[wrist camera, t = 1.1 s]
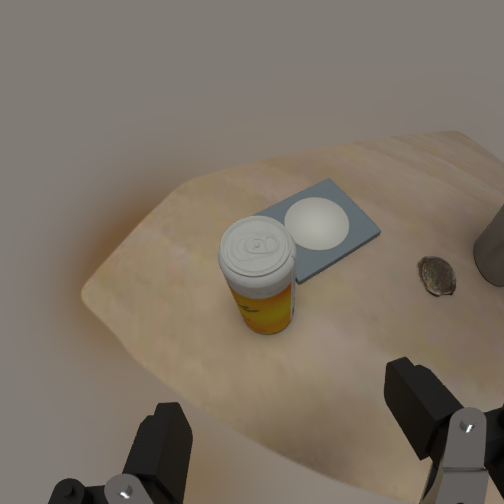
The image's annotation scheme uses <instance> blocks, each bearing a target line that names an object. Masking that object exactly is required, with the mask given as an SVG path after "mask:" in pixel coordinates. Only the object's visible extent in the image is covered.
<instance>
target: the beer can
mask: <svg viewBox="0 0 504 504" xmlns="http://www.w3.org/2000/svg"><path fill="white" fill-rule="evenodd" d="M218 260H219V265H220V267H221V270H222V272H223V274H224V276H225V279H226V281H227V283H228V285H229V288H230V290H231V292H232V294H233V297H234V299H235V301H236V303H237V305H238V308H239V310H240V312H241V314H242V316H243V318H244V321H245V322H246V324H247V325H248V326H249V327H250V328H251V329H252V330H254V331H256V332H258V333H262V334H273V333H276V332H279V331H281V330H282V329H284V328H285V327H286V326H287V325H288V324H289V323H290V321H291V319H292V317H293V313H294V297H295V277H296V245H295V242H294V239H293V237H292V236H291V234H290V233H289V232H288V231H287V229H286V228H285V227H284V226H283V225H282V224H281V223H280V222H279V221H277V220H275V219H273V218H270V217H266V216H250V217H246V218H243V219H240V220H238V221H237V222H235V223H234V224H232V225H231V226H230V227H229V228H228V229H227V230H226V232H225V233H224V235H223V237H222V240H221V244H220V247H219V251H218Z"/></svg>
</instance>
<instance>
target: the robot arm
mask: <svg viewBox="0 0 504 504" xmlns="http://www.w3.org/2000/svg"><path fill="white" fill-rule="evenodd" d="M474 257H475V261H476V264H477V266H478V268H479V270H480V272H481V273H482V275H483V276H484V277H485V278H486V279H487V280H488V281H489V282H490V283H492V284H494V285H496V286H504V204H503V206H502V207H501V209H500V210H499V212H498V213H497V214H496V216H495V217H494V218H493V220H492V221H491V223H490V224H489V225H488V226H487V228H486V229H485V230H484V232H483V233H482V234H481V235H480V237H479V238H478V239H477V240H476V242H475V245H474ZM384 398H385V401H386V404H387V406H388V407H389V409H390V411H391V412H392V414H393V416H394V417H395V419H396V421H397V422H398V424H399V426H400V427H401V429H402V431H403V432H404V434H405V436H406V437H407V439H408V441H409V442H410V444H411V446H412V448H413V449H414V451H415V453H416V454H417V456H418V458H419V460H420V461H421V460H423V459H425V458H427V457H429V456H430V458H431V459H432V463H431V466H430V470H429V474H428V477H427V480H426V484H425V487H424V490H423V493H422V496H421V499H420V502H419V504H484V501H485V496H486V490H487V484H488V476H489V475H490V477H491V478H492V480H493V482H494V484H495V485H496V487H497V489H498V491H499V492H500V494H501V496H502V498H503V499H504V404H503V406H502V407H501V408H498V409H495V410H492V411H488V412H485V413H483V412H481V411H480V410H478V409H476V408H470V407H469V408H464V407H463V406H462V405H461V404H460V402H459V401H458V400H457V399H456V398H455V397H454V396H453V395H452V393H451V392H450V391H449V390H448V389H447V388H446V387H445V386H444V385H443V384H442V382H441V381H440V380H439V379H437V377H436V376H435V375H434V374H433V372H432V371H431V370H430V369H428V368H426V367H424V366H422V365H420V364H419V365H416V366H414V365H413V364H412V363H411V361H410V360H409V359H408V358H407V357H402V358H399V359H397V360H394V361H391V362H388V363H387V365H386V374H385V384H384ZM192 441H193V435H192V430H191V427H190V425H189V423H188V421H187V419H186V417H185V415H184V413H183V411H182V408H181V406H180V404H179V403H178V402H171V403H158V405H157V407H156V410H155V413H154V415H153V416H152V415H150V416H147V417H146V418H145V419H144V421H143V422H142V423H141V424H140V426H139V429H138V431H137V436H136V437H135V440H134V444H133V445H132V447H131V450H130V453H129V456H128V459H127V461H126V464H125V467H124V469H123V472H122V474H119V475H116V476H114V477H112V478H111V479H110V480H109V481H108V482H107V483H106V485H103V486H92V487H85V486H84V485H83V484H82V483H81V482H79V481H78V480H76V479H72V478H70V479H69V478H68V479H64V480H62V481H60V482H59V483H58V484H57V485H56V486H55V488H54V490H53V492H52V495H51V497H50V500H49V502H48V504H183V499H184V492H185V485H186V478H187V473H188V466H189V460H190V454H191V448H192ZM484 467H485V468H486V469H484Z"/></svg>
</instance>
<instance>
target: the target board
mask: <svg viewBox="0 0 504 504" xmlns="http://www.w3.org/2000/svg"><path fill="white" fill-rule="evenodd" d="M253 216H266V217H270V218H273V219H275V220H277V221H279V222H280V223H281V224H282V225H283V226H284V227H285V228H286V229H287V231H288V232H289V233H290V234H291V236H292V237H293V239H294V242H295V245H296V277H295V280H296V282H297V283H298V284H301V283H303V282H305V281H306V280H308V279H310V278H311V277H313V276H315V275H316V274H318V273H320V272H321V271H323V270H324V269H326V268H328V267H329V266H331V265H333V264H334V263H336V262H337V261H339V260H341V259H342V258H344V257H345V256H347V255H349V254H350V253H352V252H353V251H355V250H357V249H358V248H360V247H361V246H363V245H364V244H366V243H368V242H369V241H371V240H372V239H374V238H375V237H377V236H378V235H380V232H381V230H380V229H379V228H378V227H377V226H376V224H375V223H374V222H373V221H372V220H371V219H370V218H369V217H368V216H367V215H366V214H365V213H364V212H363V211H362V210H361V209H360V208H359V207H358V206H357V205H356V204H355V203H354V202H353V201H352V200H351V199H350V198H349V197H348V196H347V195H346V194H345V193H344V192H343V191H342V190H341V189H340V188H339V187H338V186H337V185H336V184H335V183H334V182H333V181H332V180H331V179H330V178H328V179H326V180H324V181H322V182H320V183H318V184H316V185H314V186H311V187H309V188H307V189H305V190H303V191H301V192H299V193H297V194H295V195H293V196H291V197H289V198H287V199H285V200H283V201H281V202H279V203H277V204H275V205H273V206H271V207H269V208H267V209H265V210H263V211H261V212H259V213H257V214H255V215H253Z"/></svg>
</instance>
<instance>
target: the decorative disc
mask: <svg viewBox="0 0 504 504" xmlns="http://www.w3.org/2000/svg"><path fill="white" fill-rule="evenodd" d="M417 274H418V277H419V279H420V282H422V284H423V285H424V286H425V287H426V289H427V290H428V291H429V292H430V293H432V294H434V295H435V296H439V295H443V294H448V295H449V294H451V295H452V294H453V292H454V291H455V288H456V276H455V272H454V271H453V269H452V268H451V266H450V265H449V264H448V263H447V262H446V261H445V260H444V259H442V258H438V257H434V256H431V257H428V256H427V257H424V258H422V259H421V260H420V261H419V262H418V264H417Z"/></svg>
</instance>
